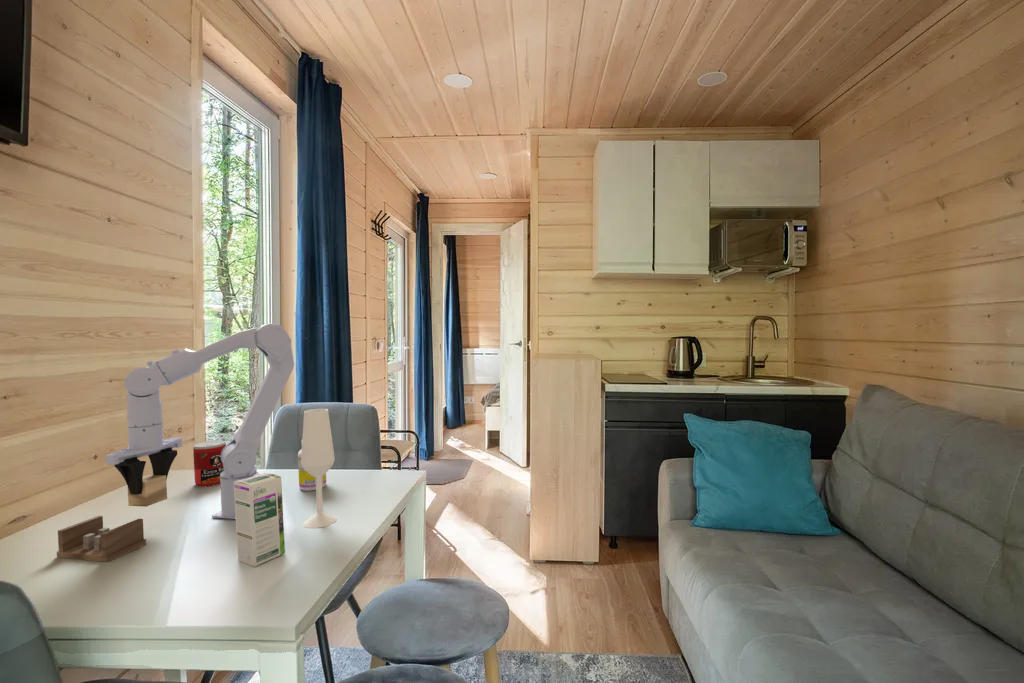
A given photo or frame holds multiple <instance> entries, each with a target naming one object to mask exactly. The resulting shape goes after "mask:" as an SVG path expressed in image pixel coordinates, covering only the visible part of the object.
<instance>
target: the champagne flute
mask: <svg viewBox="0 0 1024 683" xmlns="http://www.w3.org/2000/svg"><path fill="white" fill-rule="evenodd" d="M330 421H331V420H330V414H329V409H328V408H315V409H314V408H313V409H307V410H304V412H303V424H302V425H303V426H302V439H301V440H302V445H301V449H302V453H301V466H302V467H303V469H304V470H305V471H306V472H308V473H309V474H310V475H312V476H314V477H316V490H315V493H316V499H315V500H316V513H315V514H314V515H312V516H311V517H309V518H308V519H306V520H305V521H304V522H303V524H302V526H303V527H305V528H308V529H317V528H324V527H327V526H330V525H332V524H334V523H335V522H337V517H336V516H335V515H332V514H329V513H326V512H324V511H323V510H324V507H323V505H324V502H323V488H322V476H323V475H324V474H325V473H326V474H327V473H328V472H329V470H330V469H331V468H332V467H333V465H334V464H335V463H334V462H335V461H336V460H335V451H334V444H333V436H332V435H333V434H332V430H331V422H330Z"/></svg>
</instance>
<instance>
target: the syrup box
mask: <svg viewBox="0 0 1024 683" xmlns="http://www.w3.org/2000/svg"><path fill="white" fill-rule="evenodd" d="M260 474H261V475H257V476H254V477H250V478H246V479H243V480H238V481H235V482H234V497H235V515H236V519H235V529H236V532H235V533H236V549H237V552H236V554H237V560H239V561H240V562H242V563H244V564H246V565H249V566H251V567H253V568H256V567H258V566H259V565H262V564H264V563H266V562H268V561H271V560H273V559H275V558H278V557H279V556H282V555H285V553H286V546H285V544H286V543H285V526H284V523H285V522H284V507H283V486H282V485H283V483H282V476H280V475H277V474H274V473H270V472H269V473H268V472H267V473H266V472H263V473H260Z"/></svg>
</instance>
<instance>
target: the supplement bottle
mask: <svg viewBox="0 0 1024 683" xmlns="http://www.w3.org/2000/svg"><path fill="white" fill-rule="evenodd" d="M300 445H301V446H302V439H301V444H300ZM301 453H302V448H301V449H300V450H299V451H298V453H297V464H298V465H297V467H298V470H297V471H298V487H299V489H300V490H301V491H306V492H310V491H316V477H314V476H312V475H310V474H309V473H308V472H306V471H305V470H304V469H303V467H302V466H301ZM326 485H327V472H326V473H325V474H324V475H323V476H322V489H323V488H324V487H325V486H326Z"/></svg>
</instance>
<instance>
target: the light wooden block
mask: <svg viewBox="0 0 1024 683" xmlns="http://www.w3.org/2000/svg"><path fill="white" fill-rule="evenodd" d="M142 481H143V489H142V494H139V495H133V494H130V491H129V488H128V487H127V500H128V506H129V507H144V508H145V507H149V506H153V505H155V504H157V503H159V502H160V503H161V502H162V501H165V500H167V499H168V491H167V490H168V489H167V487H168V486H167V480H166V475H153V474H148V475H143V478H142Z"/></svg>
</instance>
